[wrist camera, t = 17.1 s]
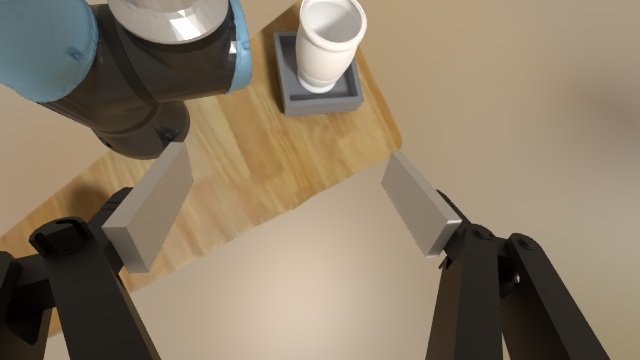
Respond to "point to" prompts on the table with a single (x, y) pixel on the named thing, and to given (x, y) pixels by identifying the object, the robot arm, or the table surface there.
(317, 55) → the jar
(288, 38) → the footed square tray
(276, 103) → the table surface
